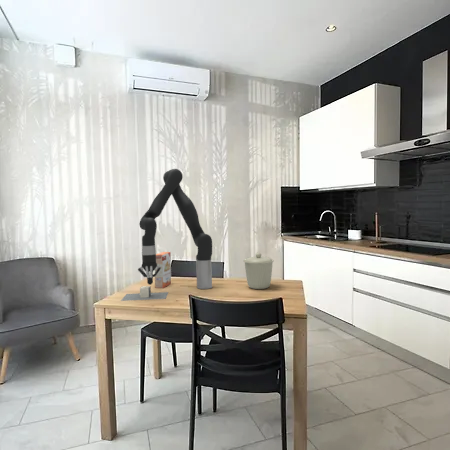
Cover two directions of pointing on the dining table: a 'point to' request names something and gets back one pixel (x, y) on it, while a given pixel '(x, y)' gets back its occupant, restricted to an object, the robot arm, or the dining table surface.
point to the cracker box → (163, 270)
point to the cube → (145, 291)
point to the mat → (137, 297)
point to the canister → (258, 271)
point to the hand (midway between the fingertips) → (150, 284)
